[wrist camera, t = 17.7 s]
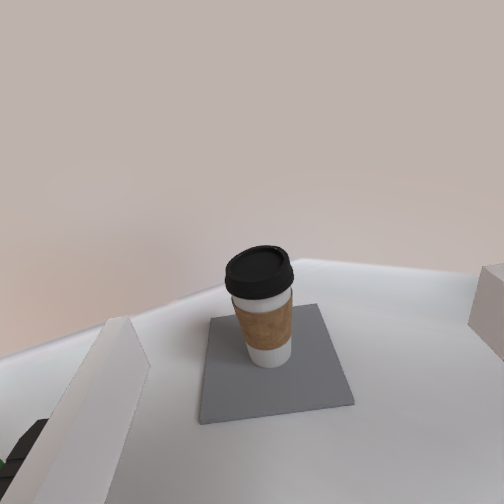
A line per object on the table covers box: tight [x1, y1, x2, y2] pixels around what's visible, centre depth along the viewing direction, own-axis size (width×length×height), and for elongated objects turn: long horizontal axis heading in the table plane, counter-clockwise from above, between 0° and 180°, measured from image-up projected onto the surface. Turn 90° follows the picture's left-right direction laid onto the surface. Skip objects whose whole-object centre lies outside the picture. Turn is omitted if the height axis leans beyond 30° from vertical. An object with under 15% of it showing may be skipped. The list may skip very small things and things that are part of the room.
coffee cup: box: [225, 245, 294, 368], centre depth 39 cm, size 8×8×15 cm
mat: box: [199, 304, 354, 424], centre depth 43 cm, size 18×18×1 cm
